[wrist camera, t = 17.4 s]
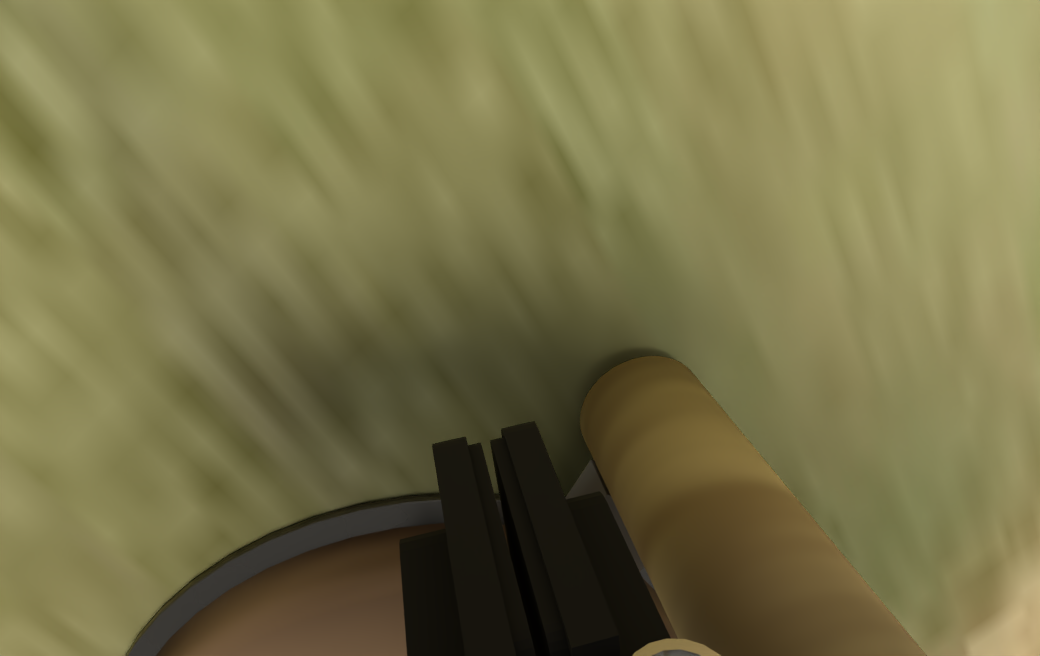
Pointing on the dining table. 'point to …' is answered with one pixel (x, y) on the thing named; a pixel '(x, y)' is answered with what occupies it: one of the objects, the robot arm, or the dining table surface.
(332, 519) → the turntable base
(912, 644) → the turntable
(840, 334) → the dining table surface
